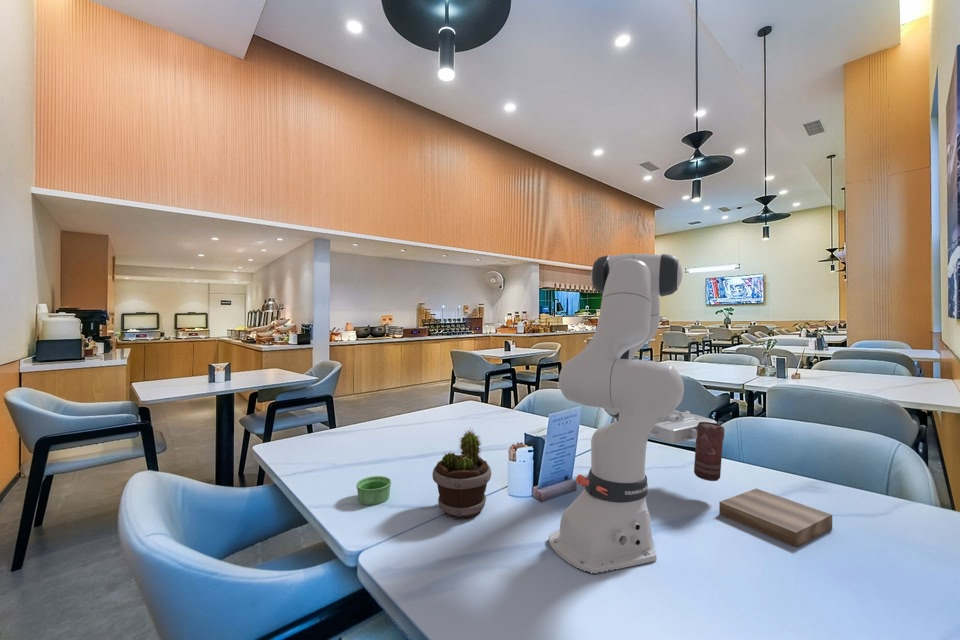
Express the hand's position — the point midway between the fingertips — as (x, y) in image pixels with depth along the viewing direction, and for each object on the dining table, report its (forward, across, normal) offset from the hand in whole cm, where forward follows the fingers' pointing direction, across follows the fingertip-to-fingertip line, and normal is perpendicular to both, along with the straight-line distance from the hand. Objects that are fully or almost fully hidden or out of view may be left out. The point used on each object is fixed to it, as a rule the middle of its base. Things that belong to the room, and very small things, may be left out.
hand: (713, 436), depth 105 cm
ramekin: (-44, -78, +18) cm, 91 cm away
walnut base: (+13, +2, +17) cm, 21 cm away
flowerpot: (-27, -60, +17) cm, 68 cm away
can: (-2, 0, +11) cm, 11 cm away
